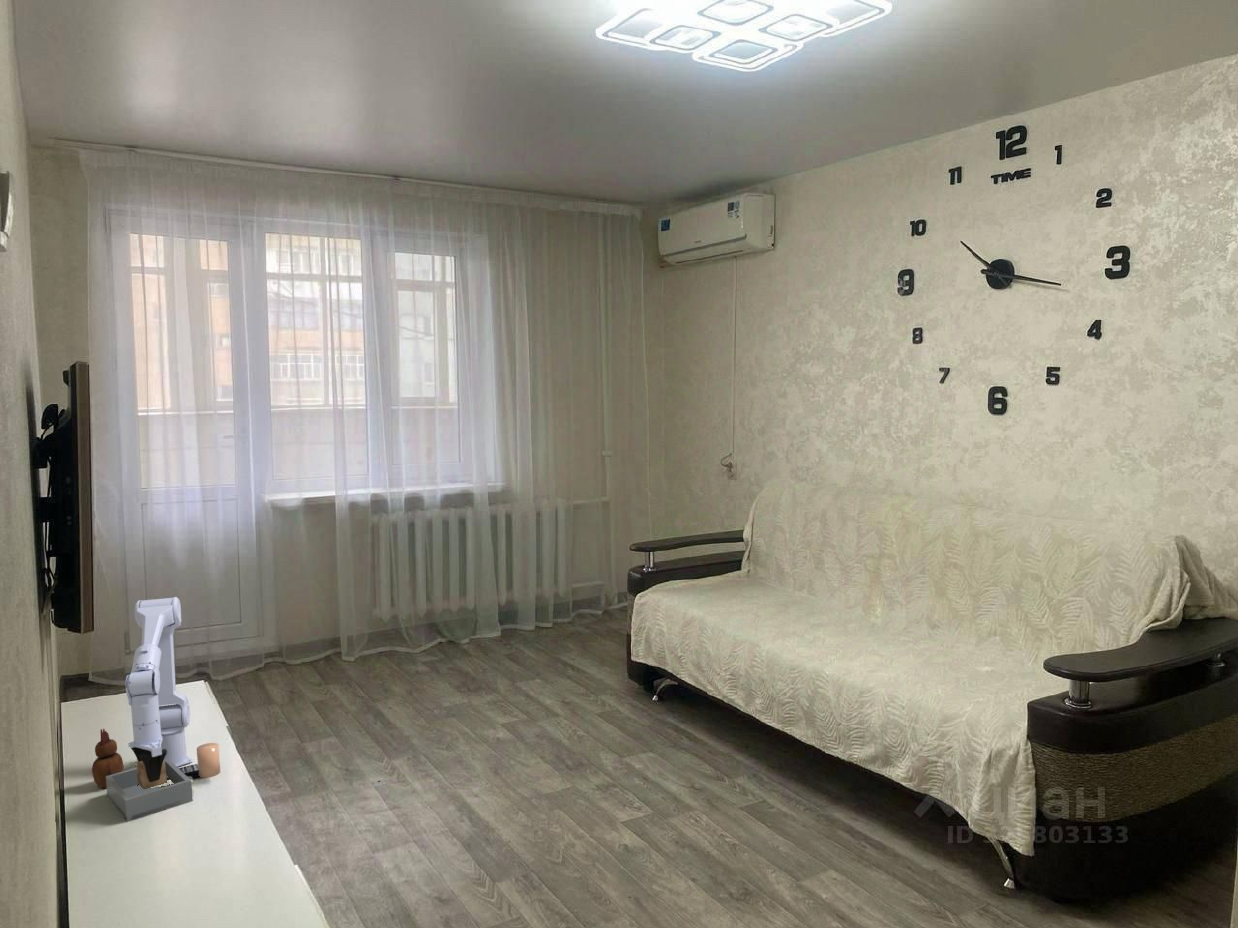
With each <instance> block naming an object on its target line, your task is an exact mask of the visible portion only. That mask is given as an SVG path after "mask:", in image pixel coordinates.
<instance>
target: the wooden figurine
mask: <svg viewBox="0 0 1238 928" xmlns="http://www.w3.org/2000/svg"><path fill="white" fill-rule="evenodd" d="M117 751H118V743H117V741H116V740H115V739H112V738H111V739H110V736H109V732H107V730H106V729H105V728H100V741H98V742H97V743H96V745H95V747H94V752H95V756H96V757H97V758H95V760H94V761H93V763H92V766H91V774H92V778H93V781H94V782H95V784H96V785H97V786H98V787H99V788H102V789H105V788H106V789H107V786H106V776H109V775H112V774H116V773H119V772H123V771H124V763H123V757H122V755H121V754H120V753H118V752H117Z"/></svg>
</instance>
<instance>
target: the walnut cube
mask: <svg viewBox="0 0 1238 928" xmlns="http://www.w3.org/2000/svg"><path fill="white" fill-rule="evenodd" d="M135 768H137V780H138V784H139V785H140V786H141V787H142V788H143V789H147V788H151V787H154V786H157V785H161V784H164V783H167V778H166V767H165V762H164V761H163V763H162V768H161V775H160V779H159V780H157V781H153V782H149V780H148V777H147V773H146V769H145V766H144V764H143V762H142V761H140V762H138V761H137V762H135Z"/></svg>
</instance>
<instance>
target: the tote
mask: <svg viewBox="0 0 1238 928" xmlns="http://www.w3.org/2000/svg"><path fill="white" fill-rule="evenodd" d="M163 761H164V762H165V767H166V774H167V775H168V777H169V778H170V780H171V781H172V782H173V783H174V784H171V785H170V784H169V785H167V786H161V787H155V788H147V789H143V788H142V787H141V786H140V785H138V780H137V768H136V767H133V768H130V769H127V770H123V772H119V773H116V774H112V775H109V776H106V786H107V788H106V797H107V798H108V799H109V800H110V802H111V803H112V804H113V805H114V807H115V808H116V809H117V810H118V812H119V813H120V814H121V816H122V817H123V819H124V820H125V821H126V822H127V823H129V822H131V821H135V820H138V819H141V818H144V817H147V816H150V815H153V814H156V813H160V812H163V811H165V810H168V809H171V808H174V807H175V808H176V807H179V806H181V805H184V804H187V803H190V802H193V800H194V799H193V790H192V789H193V788H192V780H191V779H190V778H189V777H188V775H186V774H185V773H184V772H183V771H182V770H181V769H180V768H178V767H179V766H178V767H177V766H175V765H174V764H173V763H172V762H171V761H170V760H169V759H165V760H163ZM137 785H138V786H137Z"/></svg>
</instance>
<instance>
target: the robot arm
mask: <svg viewBox="0 0 1238 928" xmlns="http://www.w3.org/2000/svg"><path fill="white" fill-rule="evenodd" d="M181 605H182V604H181V601H180V598H178V597H177V596H174V597H167V598H166V597H165V598H157V599H155V598H154V599H145V600H141V599H139V600H137V602H136V603H135V604H134V619H135V623H137V626H138V627H139V628H141V645H140V646H139V647H137V648H136V649H135V651H134V656H133V661H132V668H131V671H130V674H127V675H126V678H125V691H126V696H127V700H128V701H127V702H128V705H129V706H130V709H131V710H130V712H131V722H132V723H131V725H132V734H133V740H132V741H131V742H129V743H127V744H128V747H129V748H130V749H131V751H132V752H133V754H134V755H135V757H136V759H137V762H140V761H142V762H143V764H144V766H145V769H146V773H147V777H148V780H149V782H153V781H157V780H159V779H160V775H161V768H162V763H163V760H165V759H169V760H170V761H171V762H172V763H173V764H174V765H175V766H177V767H181V766H184V765H185V766H186V765H188V764H191V763H193V760H192V759H191V758H190V757H189V756H188V755H187V747H186V746H187V745H186V733H185V731H186V730H185V728H187V727H188V726H189V725H190V721H191V712H190V711H191V710H190V709H191V708H190V705H189V698H188V696H186V695H185V694H183V693H181V692H179V691H177V689H176V685H177V684H176V669H175V666H176V665H175V651H174V650H175V648H174V647H175V646H174V633H175V629H177V628H179V627H181V625H182V608H181Z"/></svg>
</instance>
